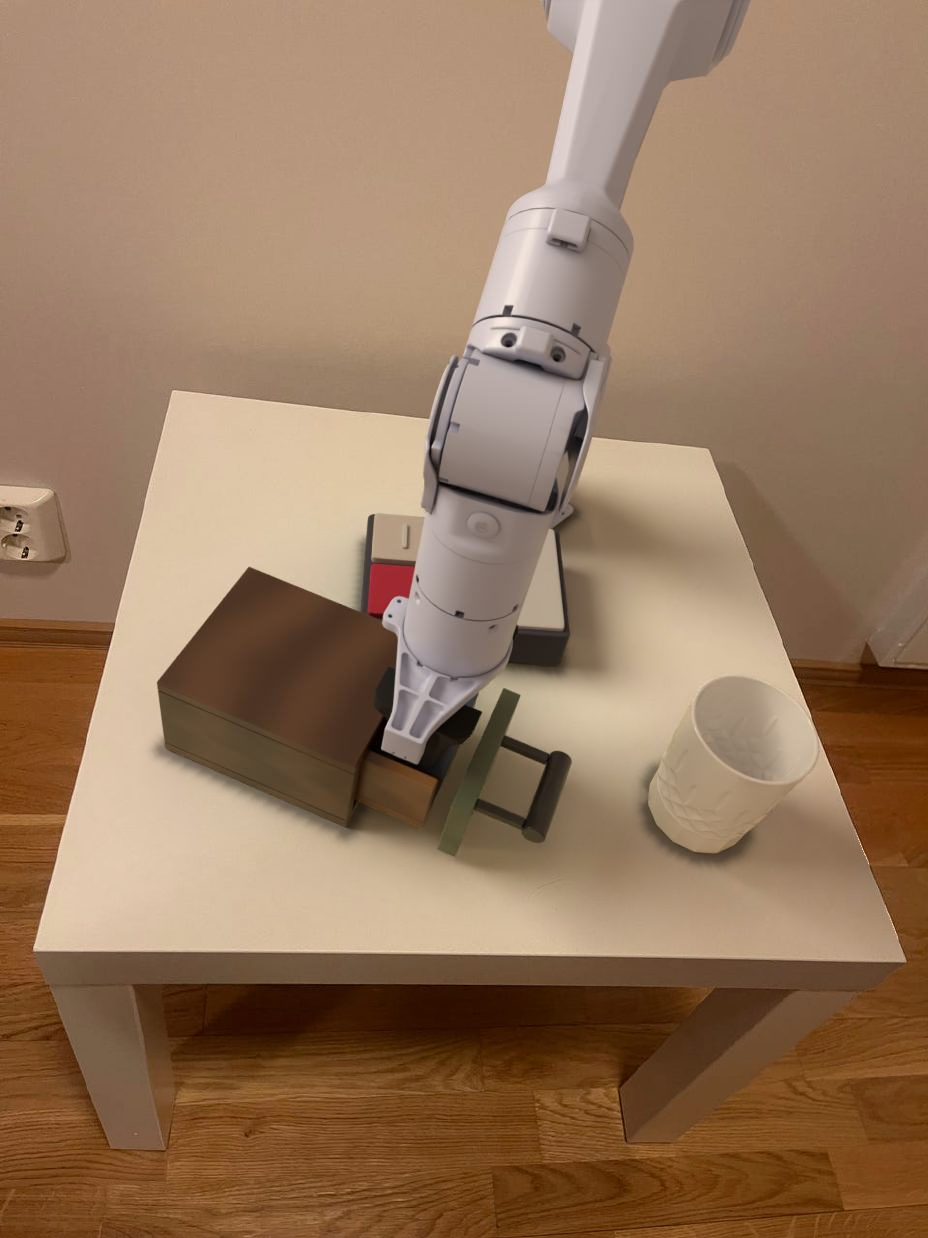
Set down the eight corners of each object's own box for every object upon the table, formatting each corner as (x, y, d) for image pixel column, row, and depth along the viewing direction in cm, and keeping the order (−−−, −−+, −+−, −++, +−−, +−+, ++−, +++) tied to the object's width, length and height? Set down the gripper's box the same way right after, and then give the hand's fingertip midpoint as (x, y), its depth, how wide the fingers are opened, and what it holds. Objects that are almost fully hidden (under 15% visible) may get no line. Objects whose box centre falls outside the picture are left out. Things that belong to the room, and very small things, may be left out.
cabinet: (411, 702, 63) (426, 638, 58) (345, 827, 56) (355, 767, 51) (248, 634, 64) (248, 565, 59) (164, 748, 57) (156, 682, 52)
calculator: (368, 505, 69) (561, 520, 71) (366, 544, 73) (550, 558, 74) (359, 615, 62) (573, 630, 64) (357, 653, 66) (561, 666, 67)
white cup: (752, 877, 59) (824, 800, 51) (634, 844, 59) (689, 763, 51) (750, 775, 64) (815, 692, 57) (642, 746, 64) (693, 659, 57)
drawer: (566, 766, 61) (588, 722, 57) (524, 888, 55) (545, 847, 51) (348, 675, 62) (355, 626, 59) (283, 783, 56) (286, 736, 52)
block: (408, 705, 58) (417, 667, 55) (466, 729, 57) (478, 692, 54) (383, 753, 55) (390, 716, 52) (443, 779, 55) (455, 743, 52)
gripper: (449, 466, 50) (416, 624, 60) (333, 648, 41) (317, 799, 51) (568, 512, 49) (514, 664, 60) (479, 708, 40) (433, 849, 50)
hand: (431, 729), depth 55 cm, fingers closed on block, 4 cm apart
